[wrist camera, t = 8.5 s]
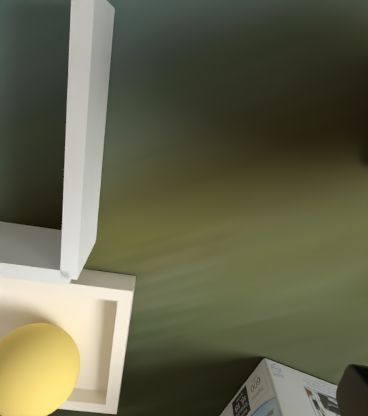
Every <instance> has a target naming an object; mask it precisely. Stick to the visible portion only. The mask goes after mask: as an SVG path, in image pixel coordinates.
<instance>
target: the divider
mask: <svg viewBox="0 0 368 416" xmlns="http://www.w3.org/2000/svg"><path fill="white" fill-rule="evenodd" d="M114 14H115V8H114V7H113V6H112V5H111V4H110V3H109V2H108V1H107V0H71V16H70V41H69V66H68V90H67V115H66V140H65V164H64V189H63V213H62V230H57V229H50V228H43V227H36V226H29V225H22V224H15V223H8V222H1V221H0V277H3V278H11V279H19V280H27V281H34V282H42V283H50V284H58V285H66V286H68V285H69V283H70V281H71V279H74V280H77V279H78V277H79V275H80V273H81V271H82V269H83V267H84V264H85V262H86V260H87V258H88V256H89V254H90V252H91V250H92V248H93V246H94V244H95V242H96V233H97V221H98V209H99V196H100V184H101V172H102V160H103V148H104V136H105V124H106V111H107V99H108V87H109V75H110V63H111V51H112V38H113V26H114Z"/></svg>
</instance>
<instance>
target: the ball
mask: <svg viewBox="0 0 368 416" xmlns="http://www.w3.org/2000/svg"><path fill="white" fill-rule="evenodd" d="M79 372H80V355H79V351H78V348H77V345H76V343H75V342H74V340H73V339H72V337H71V336H70V335H69V334H68V333H67V332H66V331H64V330H63V329H61V328H60V327H57V326H55V325H52V324H47V323H33V324H29V325H25V326H22V327H20V328H18V329H16V330H14V331H12V332H10V333H9V334H8V335H7V336H5V337H4V338H3V339H2V340H1V341H0V415H2V416H47V415H49V414H50V413H52V412H54V411H55V410H56V409H58V408H59V407H60V406H61V405H62V404H63V403H64V402H65V401H66V400H67V399H68V397H69V396H70V394H71V393H72V391H73V389H74V387H75V386H76V383H77V380H78V377H79Z"/></svg>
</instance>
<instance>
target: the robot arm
mask: <svg viewBox="0 0 368 416" xmlns="http://www.w3.org/2000/svg"><path fill="white" fill-rule="evenodd" d="M336 400H337V404H338V408H339V412H340V415H341V416H368V366H365V365H356V364H350V365H348V366H347V367H346V369H345V372H344V374H343V376H342V378H341V380H340V383H339V385H338V387H337V390H336Z"/></svg>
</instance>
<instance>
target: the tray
mask: <svg viewBox="0 0 368 416" xmlns="http://www.w3.org/2000/svg"><path fill="white" fill-rule="evenodd" d="M135 281H136V276H133V275H126V274H118V273H111V272H103V271H96V270H88V269H82V271H81V273H80V275H79V277H78V279H77V280H74V279H71V281H70V283H69V285H68V286H66V285H58V284H50V283H42V282H34V281H27V280H19V279H11V278H3V277H0V341H1V340H2V339H3V338H4V337H5V336H7V335H8V334H9V333H10V332H12V331H14V330H16V329H18V328H20V327H22V326H25V325H29V324H33V323H47V324H52V325H55V326H57V327H60V328H61V329H63V330H64V331H66V332H67V333H68V334H69V335H70V336H71V337H72V339H73V340H74V342H75V343H76V345H77V348H78V351H79V355H80V372H79V377H78V380H77V383H76V386H75V387H74V389H73V391H72V393H71V394H70V396H69V397H68V399H67V400H66V401H65V402H64V403H63V404H62V405H61V406H60V407H59V408H58V409H67V410H77V411H87V412H97V413H107V414H117V408H118V403H119V397H120V391H121V384H122V376H123V369H124V362H125V354H126V347H127V340H128V333H129V325H130V318H131V311H132V303H133V296H134V289H135Z"/></svg>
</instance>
